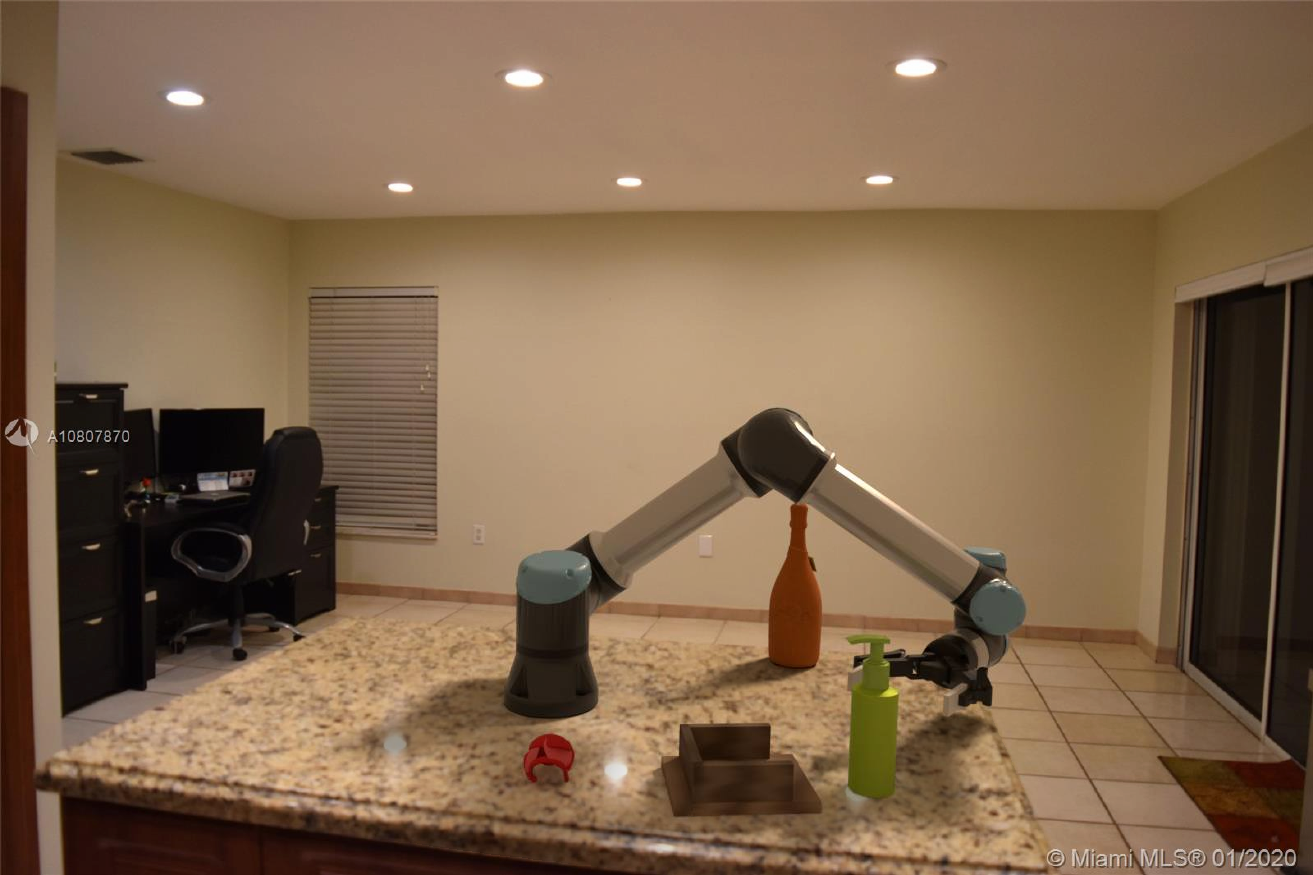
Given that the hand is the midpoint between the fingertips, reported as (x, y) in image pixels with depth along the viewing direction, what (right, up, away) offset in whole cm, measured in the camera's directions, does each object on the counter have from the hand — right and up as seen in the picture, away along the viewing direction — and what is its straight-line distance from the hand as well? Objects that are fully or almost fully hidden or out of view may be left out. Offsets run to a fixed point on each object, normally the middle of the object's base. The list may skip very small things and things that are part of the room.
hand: (896, 693), depth 122 cm
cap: (-46, -10, -4) cm, 47 cm away
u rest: (-22, -11, -6) cm, 25 cm away
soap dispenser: (-5, -11, -4) cm, 13 cm away
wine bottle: (-6, -8, +49) cm, 50 cm away
